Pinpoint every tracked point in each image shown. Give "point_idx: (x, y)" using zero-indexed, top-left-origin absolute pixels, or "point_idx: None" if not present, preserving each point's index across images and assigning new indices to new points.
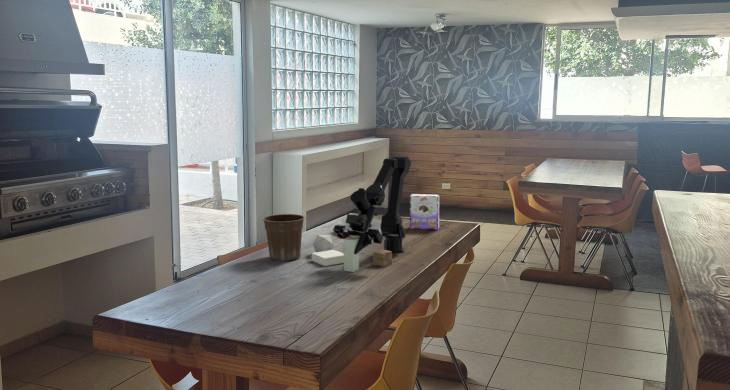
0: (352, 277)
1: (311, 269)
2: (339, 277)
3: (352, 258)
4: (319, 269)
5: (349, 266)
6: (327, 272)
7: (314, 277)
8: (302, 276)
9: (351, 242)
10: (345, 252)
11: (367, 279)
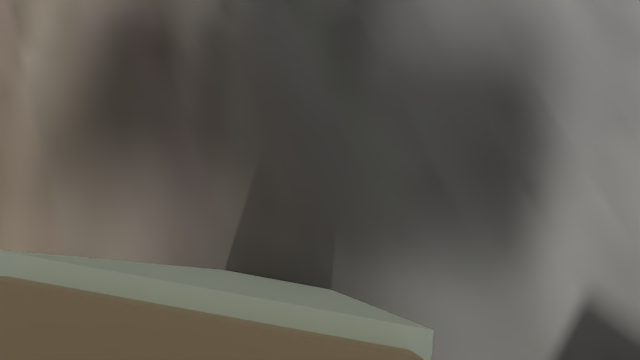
0: (176, 96)
1: (624, 221)
2: (283, 65)
3: (203, 269)
4: (560, 246)
5: (264, 278)
6: (445, 174)
7: (469, 10)
8: (565, 9)
9: (115, 264)
10: (325, 294)
11: (31, 79)
